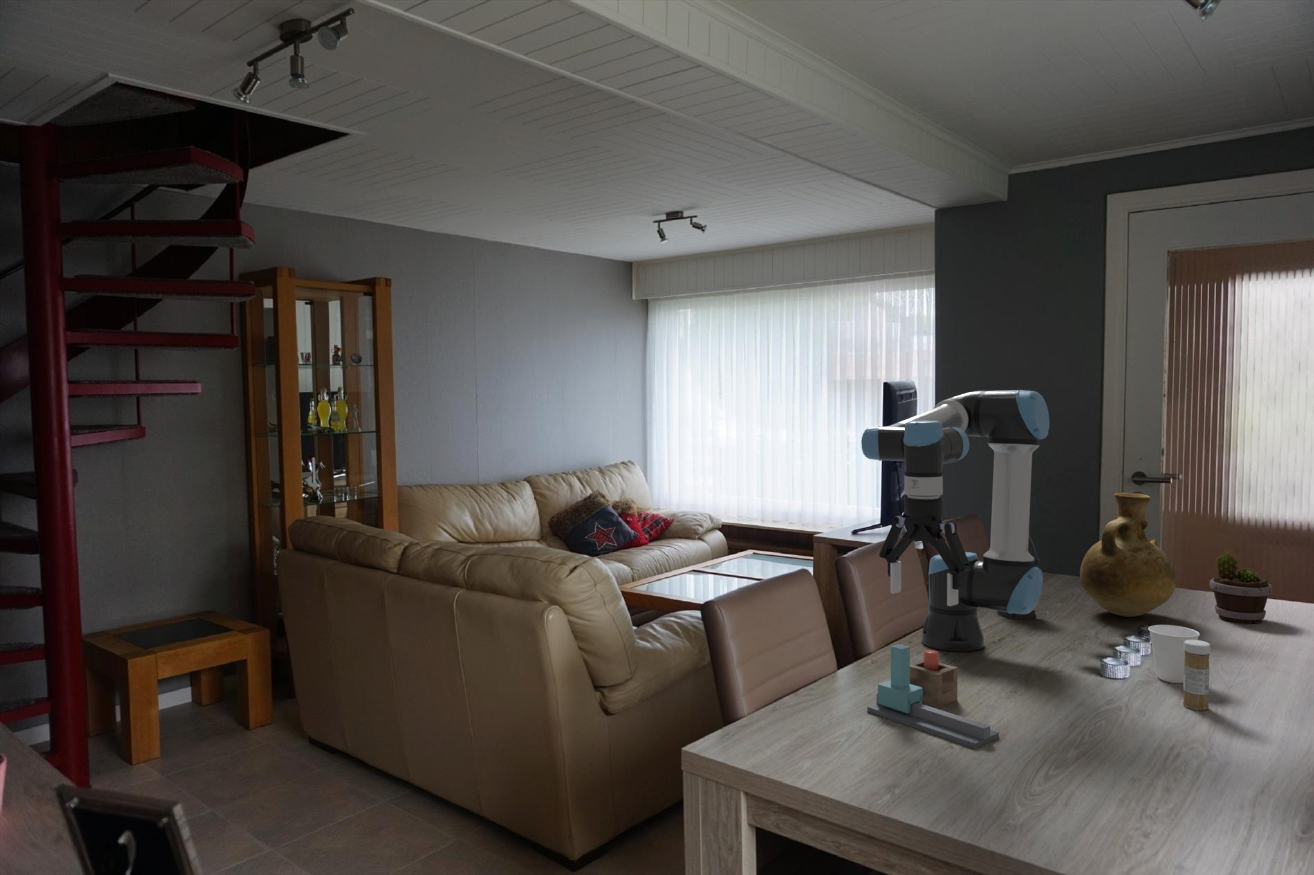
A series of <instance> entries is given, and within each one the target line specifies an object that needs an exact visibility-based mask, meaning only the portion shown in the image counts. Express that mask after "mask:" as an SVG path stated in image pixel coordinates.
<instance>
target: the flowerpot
mask: <svg viewBox="0 0 1314 875" xmlns="http://www.w3.org/2000/svg"><path fill="white" fill-rule="evenodd" d="M1238 558H1239V556H1237V555H1234V552H1233V553H1232V550H1229V551H1228V550H1227V549H1224V550H1223V551H1221V552H1220V554H1217V557H1216V558H1215V559H1213V560H1215V562H1216V563H1214V566H1216V568H1217V569H1216V573H1215V575H1214V577H1213V578H1211V579H1210V580H1209V587H1210V590H1212V591H1213V596H1214V599H1215V602H1216V604H1214V611H1215V613H1216V614H1217V615H1218V617H1219V619H1222V620H1224V621H1226V622H1227V621H1228V622H1232V623H1236V624H1237V623H1238V624H1260V623H1261V622H1262V620H1264V618H1265V617H1266V614H1267V611H1266V609H1265V608H1266V605H1267V601H1268V597H1269V596H1270V595H1272V593H1273V585H1272V584H1270V583H1268V580H1267V579H1265V578H1264V577H1262V576H1261V575H1257V573H1258V572H1256V569H1255V570H1254V569H1253V566H1252V567H1250V566H1249V565H1247V564H1245V565H1246V566H1244V567H1243V566H1241V568H1239V563H1240V561H1239V559H1238Z"/></svg>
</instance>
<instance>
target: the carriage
mask: <svg viewBox="0 0 1314 875" xmlns="http://www.w3.org/2000/svg"><path fill="white" fill-rule="evenodd" d="M910 650H911V647H910V646H908V645H904V644H901V643H898V644H895V645H891V646H890V679H888V680H886V681H883V682H880V683H877V693H878V704H881V705H884V706H887V707H890V708H893V709H896V710H899V711H902V712H905V713H910V704H912V703H915V702H917V703H920V704H923V703H922V698H923V688H922V687H918V686H915V685H912V684H910V663H911V662H910V660H911V657H910V656H911V651H910Z"/></svg>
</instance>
